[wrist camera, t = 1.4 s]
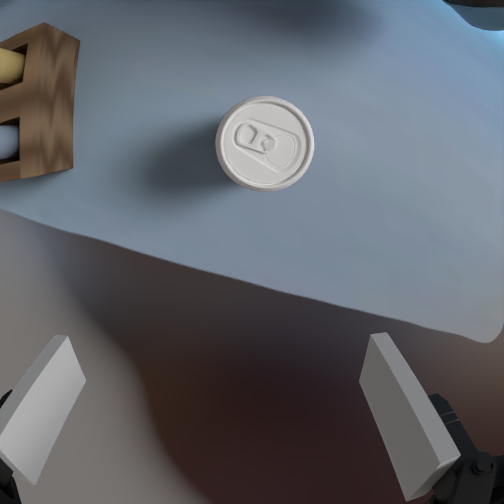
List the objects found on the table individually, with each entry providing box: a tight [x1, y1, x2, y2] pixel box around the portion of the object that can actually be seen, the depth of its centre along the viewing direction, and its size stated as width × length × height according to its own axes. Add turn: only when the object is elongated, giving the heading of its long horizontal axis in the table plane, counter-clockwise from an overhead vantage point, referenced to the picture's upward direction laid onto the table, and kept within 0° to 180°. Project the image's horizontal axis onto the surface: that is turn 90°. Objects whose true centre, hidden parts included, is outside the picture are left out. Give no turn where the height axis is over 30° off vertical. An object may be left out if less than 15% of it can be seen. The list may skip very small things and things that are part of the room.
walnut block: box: [0, 23, 80, 182], centre depth 26 cm, size 18×9×9 cm, turn 178°
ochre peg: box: [0, 48, 26, 85], centre depth 18 cm, size 4×4×8 cm
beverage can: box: [215, 96, 314, 192], centre depth 28 cm, size 8×8×12 cm
